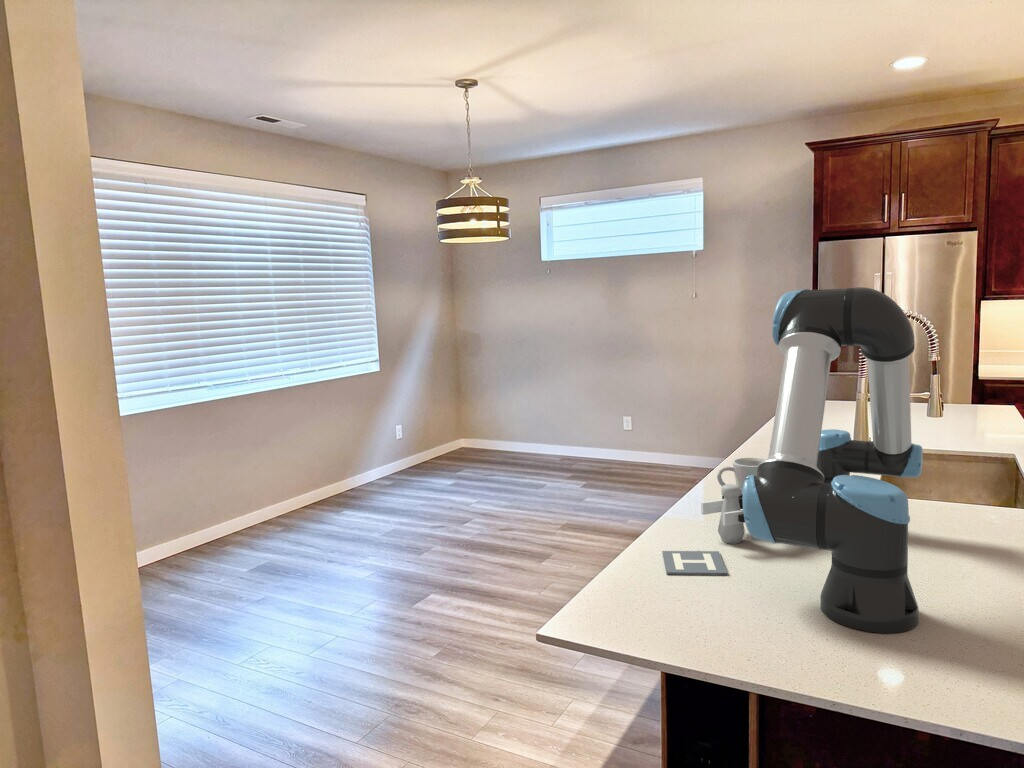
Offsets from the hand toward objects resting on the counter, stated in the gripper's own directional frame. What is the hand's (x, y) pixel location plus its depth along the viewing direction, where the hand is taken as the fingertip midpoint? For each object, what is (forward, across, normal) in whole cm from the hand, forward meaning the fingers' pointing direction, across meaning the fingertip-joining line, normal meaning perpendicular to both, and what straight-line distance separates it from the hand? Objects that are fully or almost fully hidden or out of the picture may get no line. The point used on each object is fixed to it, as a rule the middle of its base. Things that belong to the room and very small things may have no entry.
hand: (712, 513), depth 156 cm
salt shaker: (-5, 0, -7) cm, 9 cm away
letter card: (+10, -8, -7) cm, 15 cm away
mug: (-27, +27, -7) cm, 39 cm away
